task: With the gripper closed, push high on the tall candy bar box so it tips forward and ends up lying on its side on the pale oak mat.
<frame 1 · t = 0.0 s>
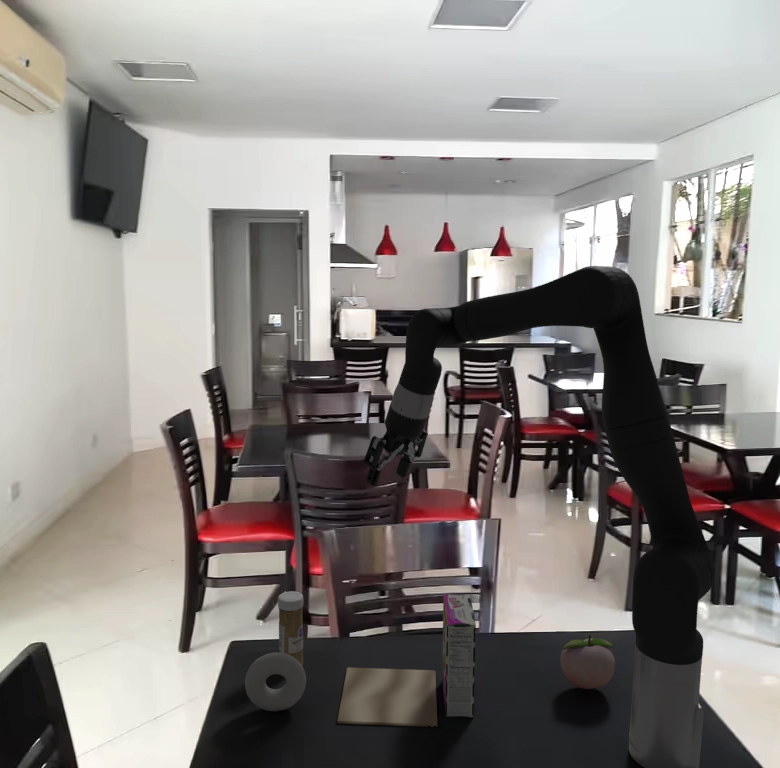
hand: (386, 479, 142), 31 cm above the table, tool tilted 20°, fingers open, 8 cm apart
candy bar box: (456, 700, 123), on the table
oak mat: (389, 696, 123), on the table
donut: (276, 710, 119), on the table
decorative fruit: (587, 691, 126), on the table
sprinkles bottle: (291, 665, 133), on the table
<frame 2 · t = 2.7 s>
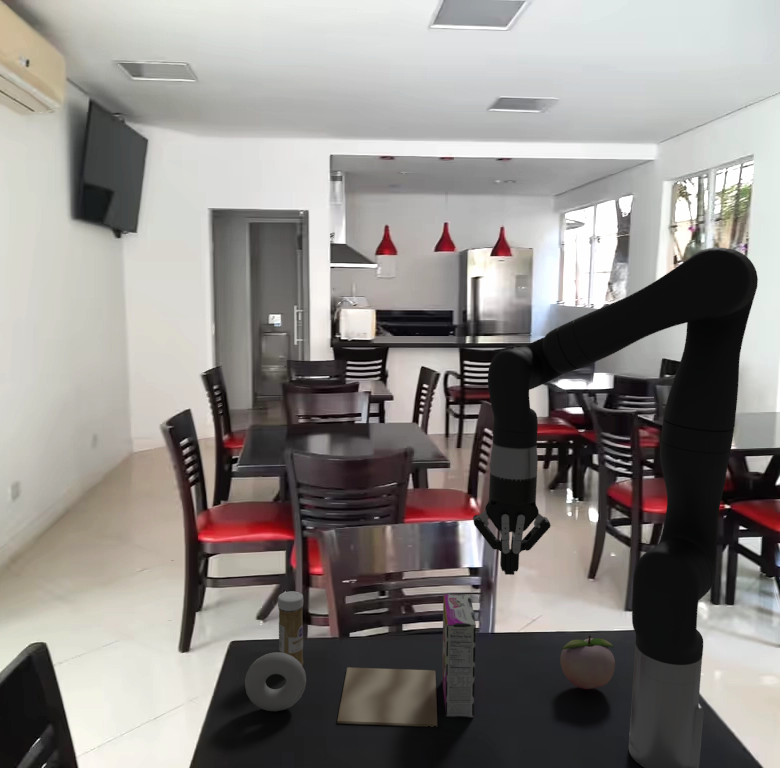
hand: (509, 572, 119), 23 cm above the table, tool pointing down, fingers closed
nothing on the table moved.
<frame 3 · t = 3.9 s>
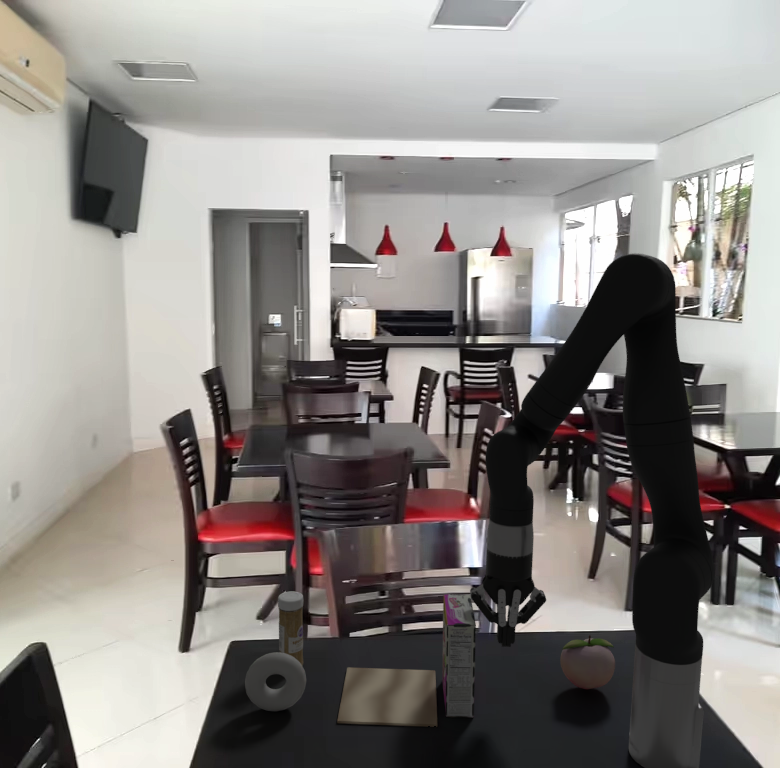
hand: (505, 644, 121), 10 cm above the table, tool pointing down, fingers closed
nothing on the table moved.
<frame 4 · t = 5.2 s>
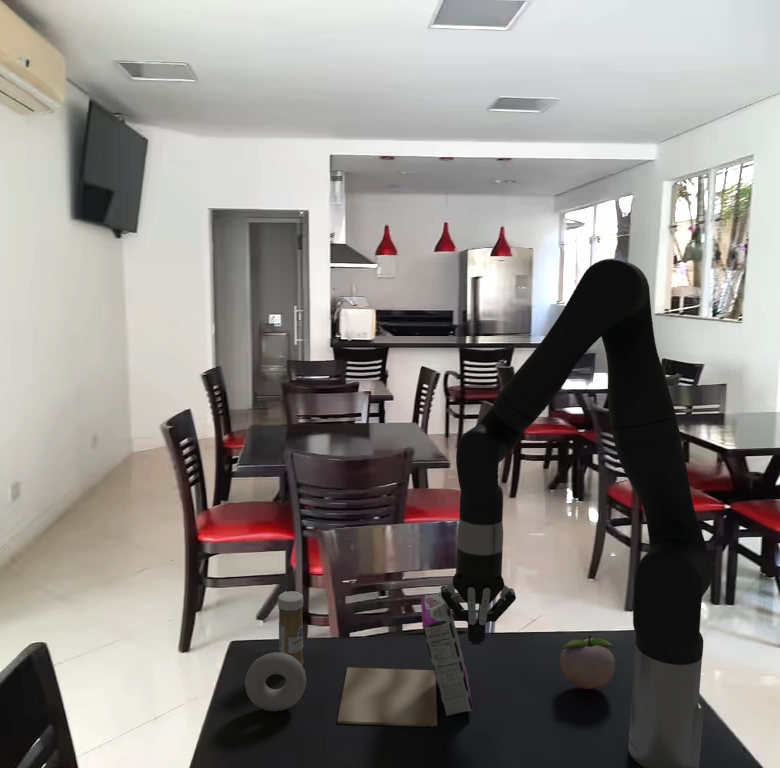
hand: (476, 642, 121), 10 cm above the table, tool pointing down, fingers closed
candy bar box: (456, 696, 123), on the table, touching hand
everything else where it was.
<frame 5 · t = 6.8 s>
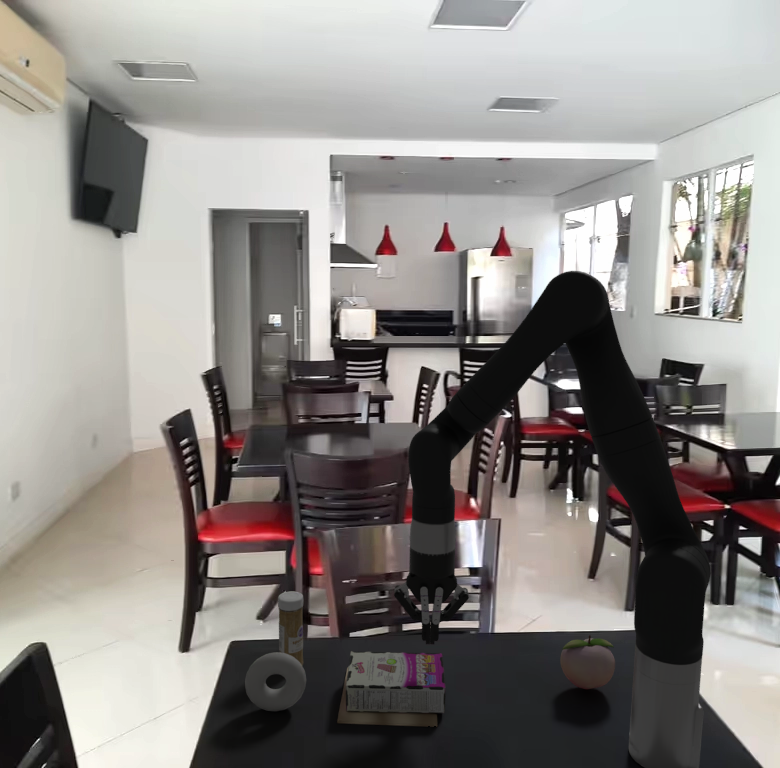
hand: (430, 642, 121), 10 cm above the table, tool pointing down, fingers closed
candy bar box: (445, 683, 122), point 3 cm above the table, touching oak mat
everything else where it was.
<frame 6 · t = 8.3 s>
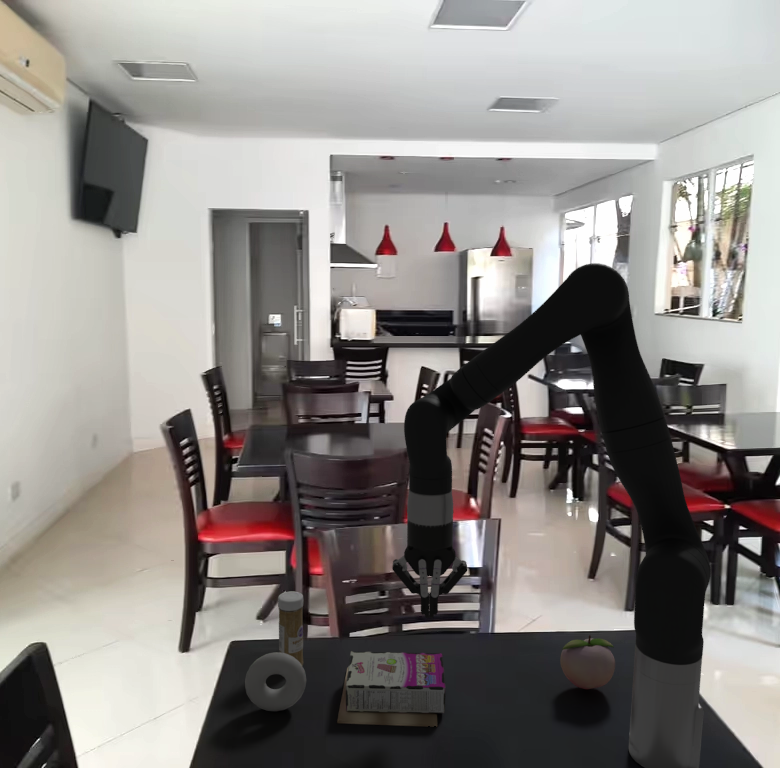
hand: (429, 615, 121), 15 cm above the table, tool pointing down, fingers closed
nothing on the table moved.
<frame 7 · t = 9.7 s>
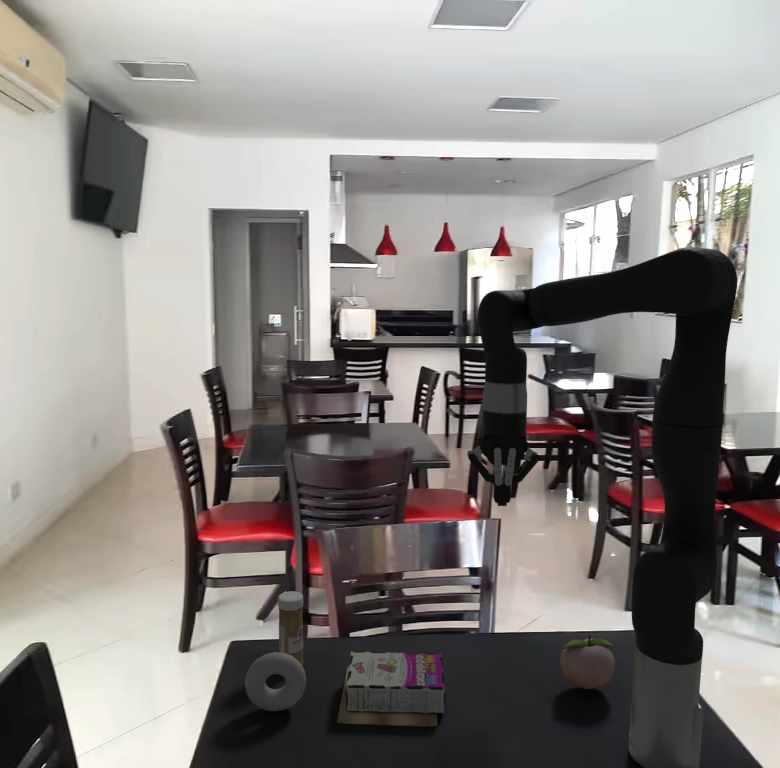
hand: (501, 504, 126), 32 cm above the table, tool pointing down, fingers closed
nothing on the table moved.
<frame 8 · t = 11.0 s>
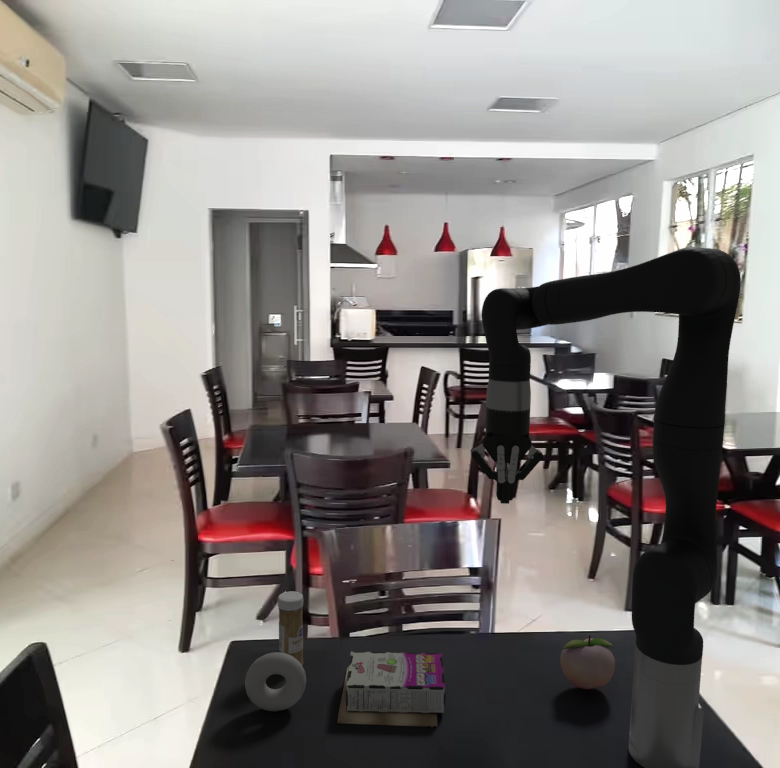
hand: (504, 502, 127), 32 cm above the table, tool pointing down, fingers closed
nothing on the table moved.
at the end: candy bar box tilted 89°; candy bar box touching oak mat; candy bar box inside the target area (2.0 cm from its centre), point 2.8 cm above the table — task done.
